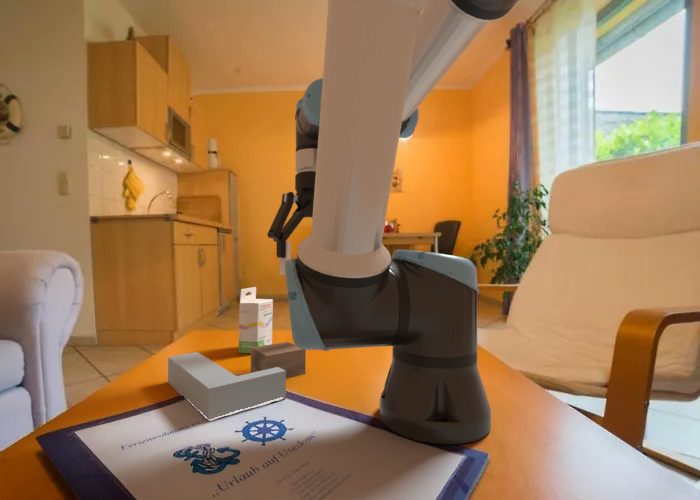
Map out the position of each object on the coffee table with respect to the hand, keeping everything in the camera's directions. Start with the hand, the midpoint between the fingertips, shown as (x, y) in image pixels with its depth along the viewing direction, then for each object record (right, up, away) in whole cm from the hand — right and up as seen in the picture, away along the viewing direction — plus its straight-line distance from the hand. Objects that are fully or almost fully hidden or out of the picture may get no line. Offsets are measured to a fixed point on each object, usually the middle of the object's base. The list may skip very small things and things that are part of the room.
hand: (312, 274), depth 76 cm
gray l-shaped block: (-13, -18, -16) cm, 28 cm away
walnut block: (-6, -19, -7) cm, 21 cm away
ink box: (-15, -19, +11) cm, 26 cm away
